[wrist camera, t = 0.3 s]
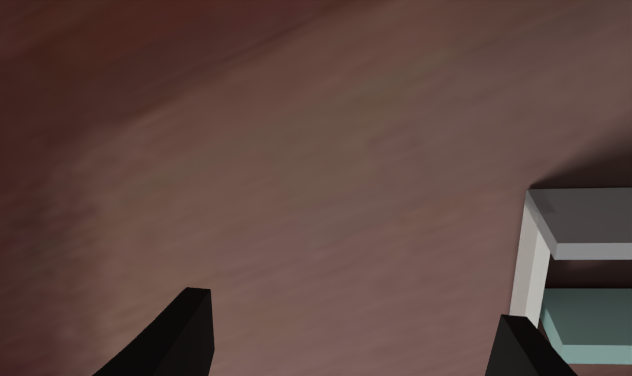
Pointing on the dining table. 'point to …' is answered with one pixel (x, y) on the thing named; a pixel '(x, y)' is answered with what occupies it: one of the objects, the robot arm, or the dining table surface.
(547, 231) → the pusher lane
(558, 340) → the panel
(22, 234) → the dining table surface
